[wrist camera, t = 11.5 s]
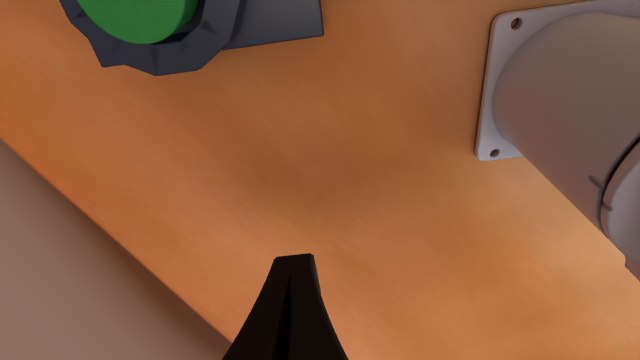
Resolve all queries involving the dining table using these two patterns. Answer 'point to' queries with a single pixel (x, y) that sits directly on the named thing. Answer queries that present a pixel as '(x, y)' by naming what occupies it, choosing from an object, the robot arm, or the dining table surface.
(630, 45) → the robot arm
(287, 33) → the switch box
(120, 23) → the button
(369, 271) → the dining table surface
